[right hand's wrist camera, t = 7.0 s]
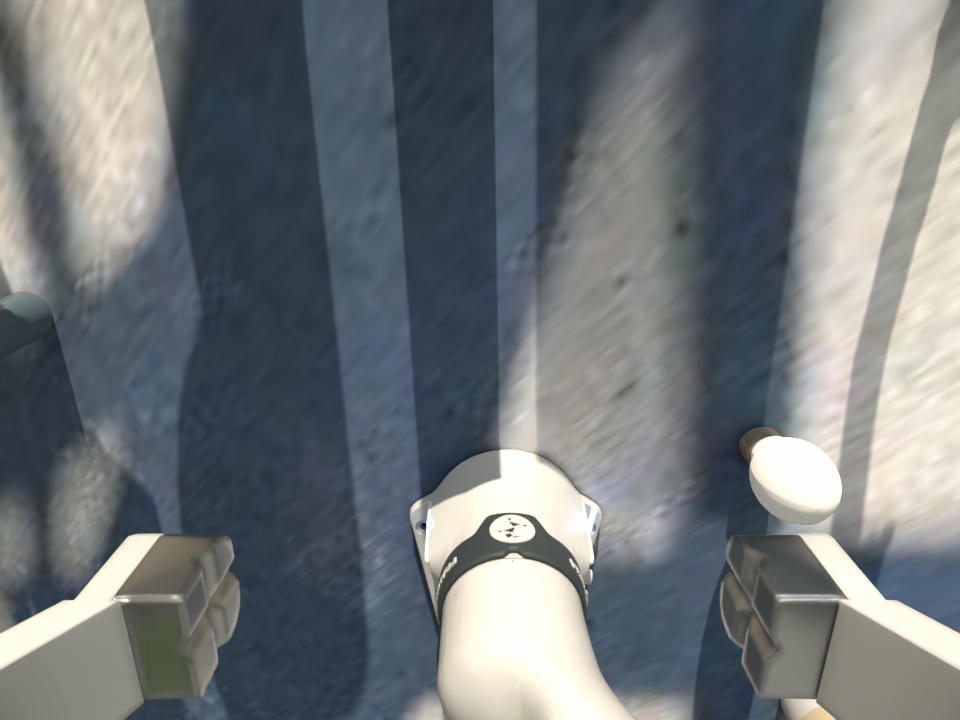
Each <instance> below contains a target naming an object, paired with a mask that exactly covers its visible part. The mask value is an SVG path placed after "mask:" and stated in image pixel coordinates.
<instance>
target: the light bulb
mask: <svg viewBox="0 0 960 720" xmlns="http://www.w3.org/2000/svg"><path fill="white" fill-rule="evenodd" d="M739 450H740V453H741V454H742V456H743V457H744V458H745V460H746V461H747V462H748V464H749V465H750V468H749V479H750V483H751V487H752V490H753V492H754V494H755V496H756V497H757V499H758V501H759V502H760V503H761V504H762V505H763V506H764V507H765V508H766V509H767V510H768V511H769V512H770V513H771V514H773V515H774V516H776V517H777V518H779V519H781V520H784V521H786V522H789V523H792V524H798V525H811V524H816V523H819V522H821V521H823V520H825V519H826V518H828V517H829V516H830V515H831V514H832V513H834V511H835V510H836V509H837V507H838V505H839V503H840V499H841V494H842V485H841V479H840V475H839V473H838V471H837V469H836V467H835V465H834V463H833V462H832V461H831V460H830V458H829V457H828V456H827V455H826V454H825V453H824V452H823V451H822V450H820V449H819V448H818V447H816V446H815V445H813V444H811V443H809V442H806V441H804V440H801V439H796V438H790V437H782V436H781V435H780V434H779V433H778V432H777V431H776V430H774V429H772V428H769V427H758V428H754V429H752V430H750V431H748V432H747V433H746V434H744V436H743V437H742V438H741V440H740V443H739Z"/></svg>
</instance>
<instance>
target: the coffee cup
mask: <svg viewBox="0 0 960 720" xmlns="http://www.w3.org/2000/svg"><path fill="white" fill-rule="evenodd" d="M780 703H781V707H782V709H783V712H784V714H785V716H786V719H787V720H836V719H835V718H834V717H832V716H831V715H830V714H829V713H828V712H827V711H826V710H824V709H823V708H822V707H821V706H820V705H819V704H817V703H816V699H783V698H781V699H780Z"/></svg>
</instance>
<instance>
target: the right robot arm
mask: <svg viewBox="0 0 960 720" xmlns="http://www.w3.org/2000/svg"><path fill="white" fill-rule="evenodd" d="M410 520H411V524H412V528H413V532H414V535H415V539H416V543H417V546H418V550H419V554H420V558H421V561H422V565H423V569H424V572H425V576H426V580H427V584H428V587H429V591H430V595H431V598H432V602H433V606H434V610H435V613H436V617H437V620H438V623H439V625H440V628H441V639H440V652H439V665H438V678H437V686H438V693H439V698H440V701H441V704H442V707H443V710H444V712H445V714H446V716H447V717H448V719H449V720H637V719H636V718H635V717H634V716H633V715H632V714H631V713H630V712H629V711H628V710H627V709H626V708H625V707H624V705H623V704H622V703H621V702H620V701H619V699H618V698H617V697H616V696H615V695H614V693H613V692H612V690H611V689H610V688H609V686H608V685H607V683H606V681H605V680H604V678H603V676H602V674H601V672H600V669H599V667H598V664H597V661H596V658H595V655H594V652H593V648H592V645H591V642H590V638H589V635H588V631H587V627H586V623H585V620H586V615H587V606H588V592H587V590H586V589H585V584H589V585H590V584H591V582H592V575H593V574H592V570H591V569H589V567H590V565H592V564H593V563H594V554H593V546H594V543H595V540H596V537H597V534H598V530H599V527H600V524H601V521H602V513H601V509H600V507H599V506H598V505H597V504H596V503H595V502H593V501H592V500H590V499H589V498H587V497H585V496H583V495H582V494H580V493H579V492H578V491H577V490H576V489H575V487H574V486H573V485H572V483H571V482H570V480H569V479H568V477H567V476H566V475H565V474H564V473H563V472H562V471H561V470H560V469H559V468H558V467H557V466H556V465H554V464H553V463H551V462H550V461H548V460H546V459H545V458H543V457H540V456H538V455H535V454H532V453H529V452H525V451H520V450H494V451H489V452H484V453H481V454H478V455H475V456H473V457H471V458H469V459H467V460H465V461H463V462H462V463H460V464H459V465H458V466H456V467H455V468H454V469H453V470H452V471H451V472H450V473H449V474H448V475H447V476H446V477H445V478H444V480H443V481H442V482H441V484H440V485H439V486H438V488H437V489H436V490H435V491H434V492H433V493H431V494H429V495H427V496H425V497H424V498H422V499H420V500H419V501H417V502H416V503H415V504H414V505H413V506H412V507H411V509H410ZM422 523H427V526H423V525H422ZM234 557H235V556H234V551H233V546H232V541H231V539H230V538H229V537H228V536H226V535H204V534H134V535H131V536H128V537H127V538H126V539H125V541H124V542H123V543H122V544H121V545H120V546H119V548H118V549H117V550H116V551H115V552H114V554H113V555H112V556H111V557H110V558H109V559H108V561H107V562H106V563H105V564H104V565H103V567H102V568H101V569H100V570H99V571H98V572H97V574H96V575H95V576H94V577H93V578H92V579H91V581H90V582H89V583H88V584H87V585H86V587H85V588H84V589H83V590H82V591H81V592H80V594H79V595H78V596H77V597H76V598H75V600H63V601H62V602H60V603H58V604H56V605H54V606H52V607H50V608H48V609H46V610H44V611H42V612H41V613H39V614H37V615H35V616H33V617H31V618H29V619H27V620H25V621H23V622H21V623H19V624H18V625H16V626H14V627H12V628H10V629H8V630H6V631H4V632H2V633H0V720H124V719H126V718H127V717H128V716H129V715H130V714H131V713H132V712H134V711H135V710H136V709H137V708H138V707H139V706H141V705H142V704H143V703H144V700H143V699H176V698H202V696H203V694H204V692H205V690H206V687H207V685H208V683H209V681H210V679H211V677H212V675H213V673H214V671H215V669H216V667H217V665H218V663H219V661H218V656H217V650H216V649H218V648H219V647H221V646H222V645H223V644H225V643H226V642H227V641H229V640H230V638H231V635H232V633H233V631H234V629H235V626H236V623H237V618H238V613H239V609H240V589H239V582H238V579H237V578H236V577H235V576H234V575H233V574H232V573H231V572H230V571H229V570H228V568H229V566H230V564H231V563H232V561H233V559H234ZM725 557H726V559H727V561H728V563H729V564H730V566H731V568H732V570H731V571H730V572H729V573H728V574H727V575H726V576H725V577H724V578H723V579H722V582H721V590H720V606H721V615H722V619H723V623H724V626H725V629H726V631H727V633H728V635H729V638H730V640H731V641H733V642H734V643H735V644H737V645H738V646H739V647H741V648H742V649H744V650H743V656H742V661H741V663H742V665H743V667H744V669H745V671H746V673H747V675H748V677H749V679H750V681H751V683H752V685H753V687H754V689H755V691H756V694H757V696H758V698H783V699H816V703H817V704H819V705H820V706H821V707H822V708H823V709H824V710H826V711H827V712H828V713H829V714H830V715H831V716H832V717H834V718H835V719H836V720H960V634H959V633H958V632H956V631H954V630H952V629H950V628H948V627H946V626H944V625H942V624H940V623H938V622H937V621H935V620H933V619H931V618H929V617H927V616H925V615H923V614H921V613H919V612H918V611H916V610H914V609H912V608H910V607H908V606H906V605H904V604H902V603H900V602H898V601H897V600H885V598H884V597H883V596H882V595H881V594H880V593H879V591H878V590H877V589H876V588H875V587H874V585H873V584H872V583H871V582H870V581H869V580H868V578H867V577H866V576H865V575H864V574H863V572H862V571H861V570H860V569H859V568H858V567H857V565H856V564H855V563H854V562H853V561H852V560H851V558H850V557H849V556H848V555H847V554H846V552H845V551H844V550H843V549H842V548H841V547H840V545H839V544H838V543H837V542H836V541H835V539H834V538H833V537H831V536H829V535H827V534H825V533H815V534H794V535H749V536H731V538H730V540H729V542H728V545H727V551H726V556H725Z"/></svg>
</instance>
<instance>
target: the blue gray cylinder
mask: <svg viewBox="0 0 960 720" xmlns="http://www.w3.org/2000/svg"><path fill="white" fill-rule="evenodd" d="M52 324H53V319H52V314H51V311H50V309H49V308H48V306H47V305H46V304H45V302H44V301H42V300H41V299H40V298H39V297H37V296H35V295H33V294H30V293H27V292H16V293H12V294H10V295H7V296H5V297H2V298H0V359H2V358H4V357H6V356H7V355H9V354H11V353H13V352H15V351H17V350H19V349H21V348H23V347H25V346H27V345H29V344H31V343H33V342H35V341H37V340H39V339H41V338H42V337H44V336H46V335H47V334H48V333H49V332H50V330H51V328H52Z"/></svg>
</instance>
